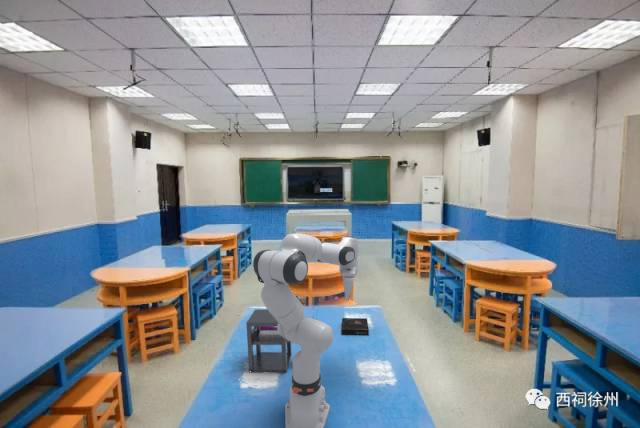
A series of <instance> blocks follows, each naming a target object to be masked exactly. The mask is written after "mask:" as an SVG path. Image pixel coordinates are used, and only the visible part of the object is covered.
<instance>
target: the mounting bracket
mask: <svg viewBox="0 0 640 428" xmlns="http://www.w3.org/2000/svg"><path fill="white" fill-rule="evenodd" d="M260 331H278V330H277V327H260Z"/></svg>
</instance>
